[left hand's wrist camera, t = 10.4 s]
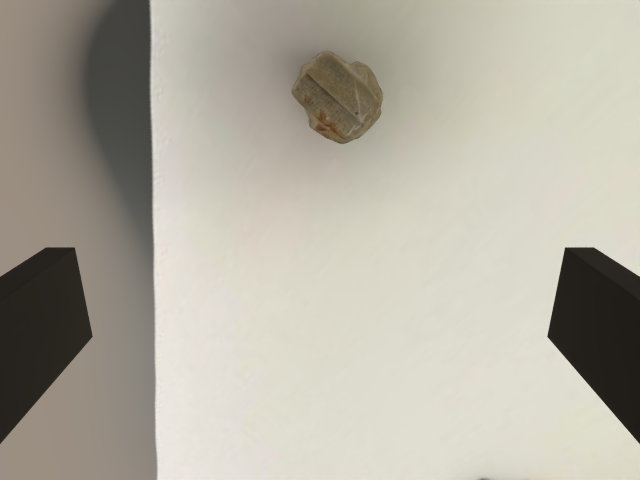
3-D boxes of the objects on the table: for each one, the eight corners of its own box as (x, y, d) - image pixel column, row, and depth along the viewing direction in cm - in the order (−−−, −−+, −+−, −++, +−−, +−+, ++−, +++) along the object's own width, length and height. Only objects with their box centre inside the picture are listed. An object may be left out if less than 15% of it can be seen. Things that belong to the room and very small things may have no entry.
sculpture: (333, 39, 40) (341, 21, 26) (388, 102, 41) (423, 117, 27) (286, 89, 41) (269, 97, 27) (341, 146, 43) (352, 183, 29)
